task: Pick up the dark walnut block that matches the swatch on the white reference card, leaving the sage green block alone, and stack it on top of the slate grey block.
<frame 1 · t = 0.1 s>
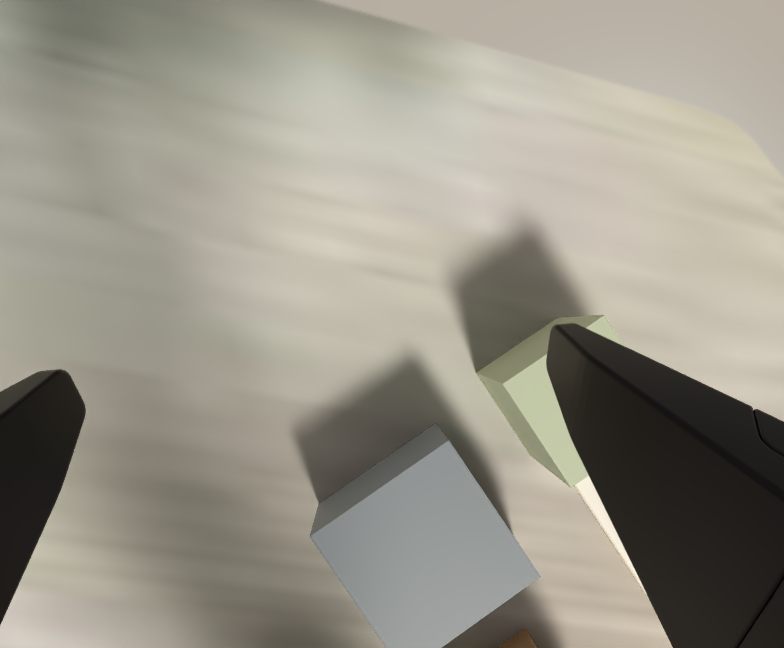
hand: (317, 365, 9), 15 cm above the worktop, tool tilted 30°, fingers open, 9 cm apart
sage block: (543, 386, 25), on the worktop
reference card: (662, 495, 25), on the worktop
slate base block: (416, 519, 24), on the worktop
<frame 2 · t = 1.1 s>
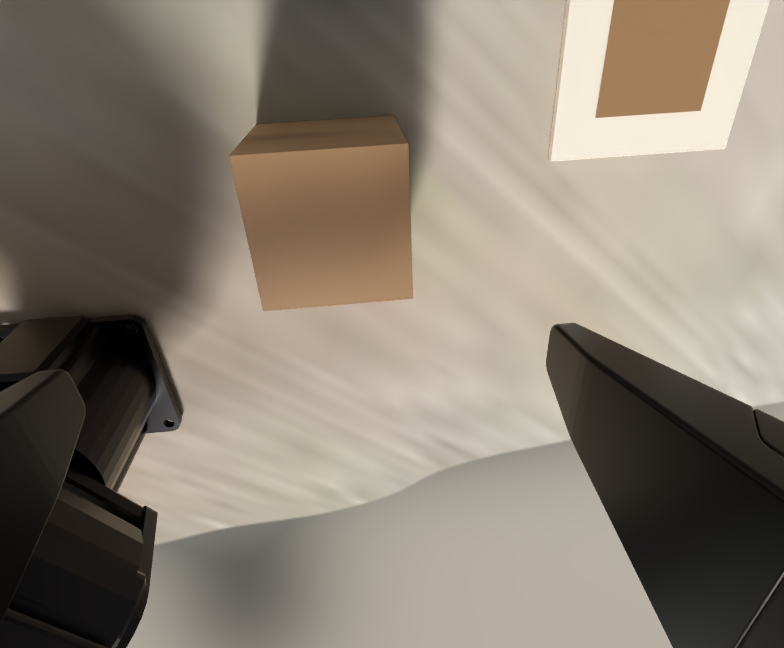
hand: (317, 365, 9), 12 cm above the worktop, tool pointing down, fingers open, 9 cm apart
reference card: (655, 52, 17), on the worktop
walnut block: (333, 187, 19), on the worktop
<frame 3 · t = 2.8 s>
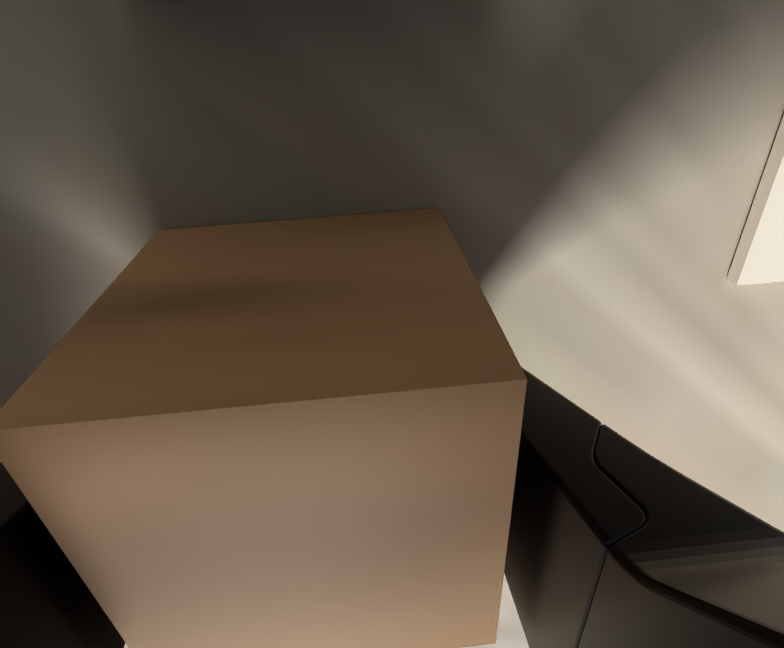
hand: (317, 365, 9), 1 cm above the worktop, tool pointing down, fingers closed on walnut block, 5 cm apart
walnut block: (319, 335, 10), on the worktop, touching gripper
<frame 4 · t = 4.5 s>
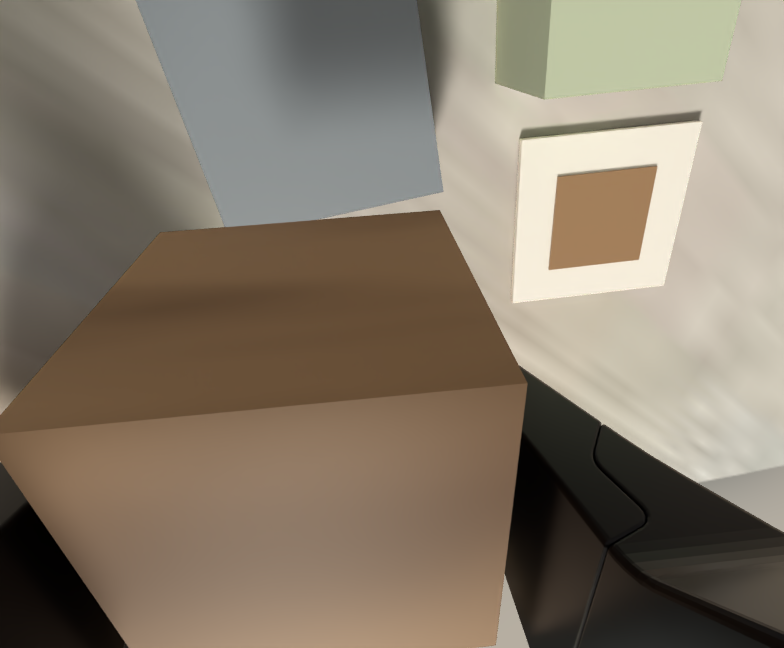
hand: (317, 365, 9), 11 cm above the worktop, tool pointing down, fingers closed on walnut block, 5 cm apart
reference card: (596, 217, 20), on the worktop
slate base block: (311, 84, 17), on the worktop
walnut block: (319, 337, 10), point 10 cm above the worktop, touching gripper
when the fingers open (6 cm above the worktop, at t = 6.3 s): walnut block drops 2 cm, resting on slate base block.
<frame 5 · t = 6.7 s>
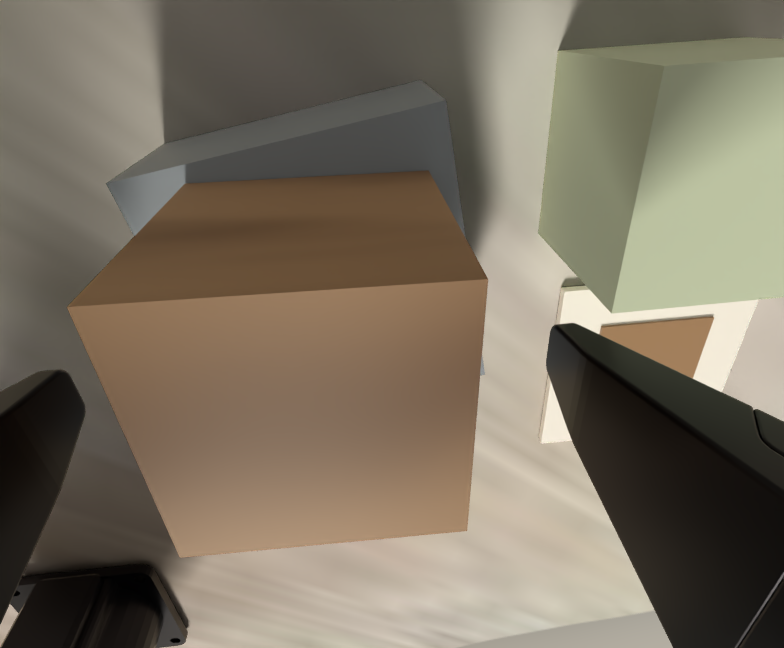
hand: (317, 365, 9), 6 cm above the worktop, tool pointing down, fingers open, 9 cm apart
sage block: (631, 143, 14), on the worktop
reference card: (640, 362, 18), on the worktop
slate base block: (328, 231, 15), on the worktop, touching walnut block
walnut block: (321, 284, 11), point 4 cm above the worktop, touching slate base block
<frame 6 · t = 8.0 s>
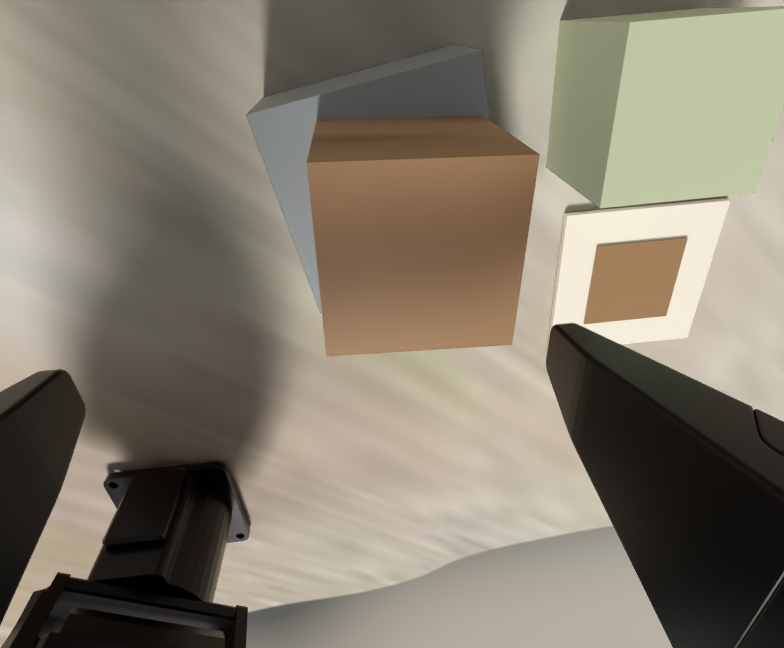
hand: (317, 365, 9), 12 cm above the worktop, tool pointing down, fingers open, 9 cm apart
sage block: (617, 92, 18), on the worktop
reference card: (629, 279, 23), on the worktop
slate base block: (382, 166, 19), on the worktop, touching walnut block
walnut block: (400, 199, 16), point 4 cm above the worktop, touching slate base block
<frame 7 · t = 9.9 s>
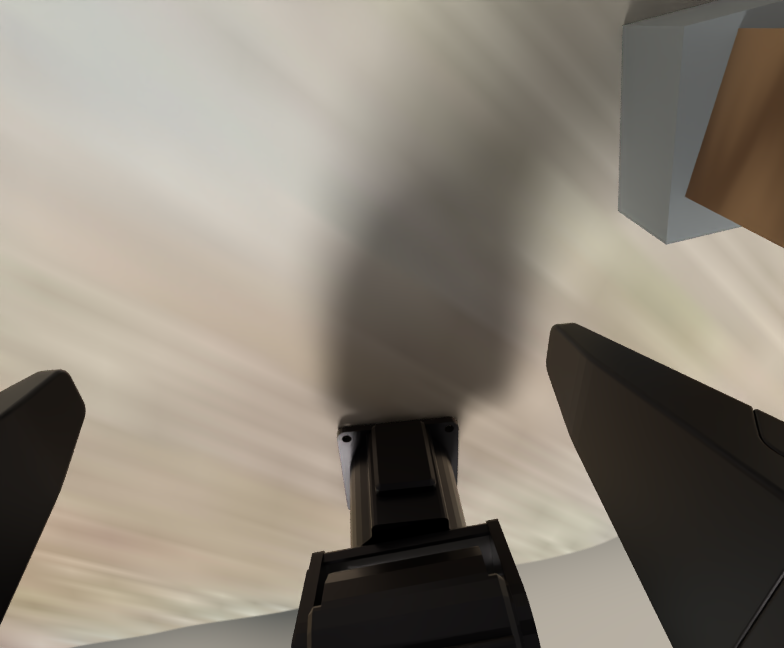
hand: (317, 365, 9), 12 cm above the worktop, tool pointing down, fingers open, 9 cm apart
slate base block: (705, 103, 19), on the worktop, touching walnut block
walnut block: (783, 118, 16), point 4 cm above the worktop, touching slate base block
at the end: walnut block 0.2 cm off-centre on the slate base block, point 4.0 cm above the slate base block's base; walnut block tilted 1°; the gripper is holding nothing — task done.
